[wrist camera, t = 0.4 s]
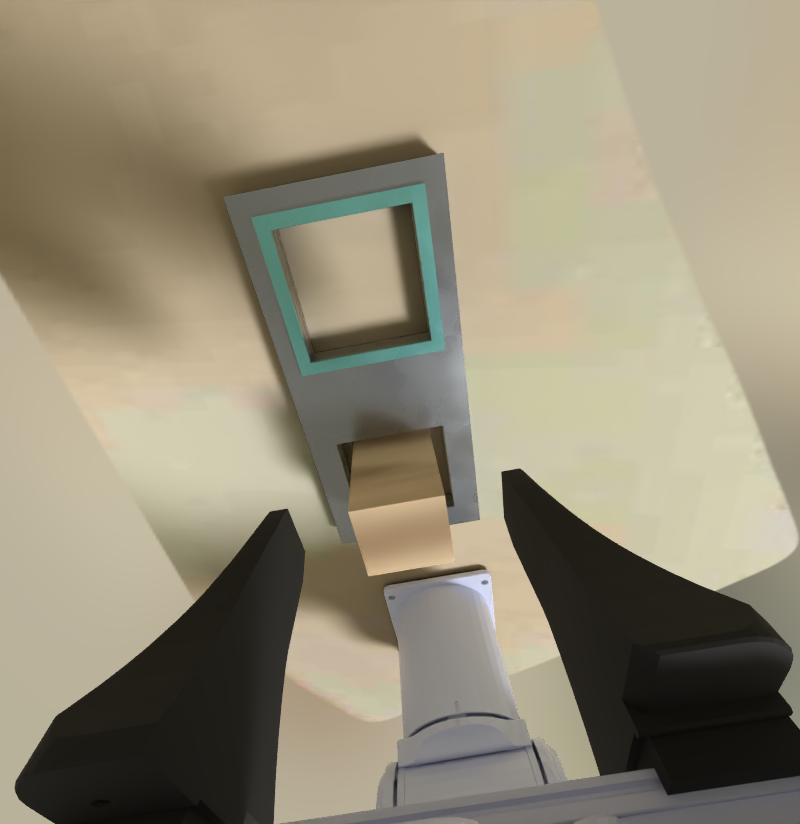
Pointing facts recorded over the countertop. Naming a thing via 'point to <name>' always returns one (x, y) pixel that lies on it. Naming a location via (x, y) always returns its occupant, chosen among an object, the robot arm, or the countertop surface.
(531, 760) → the robot arm
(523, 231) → the countertop surface
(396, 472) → the oak block
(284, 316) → the grey peg insertion board
